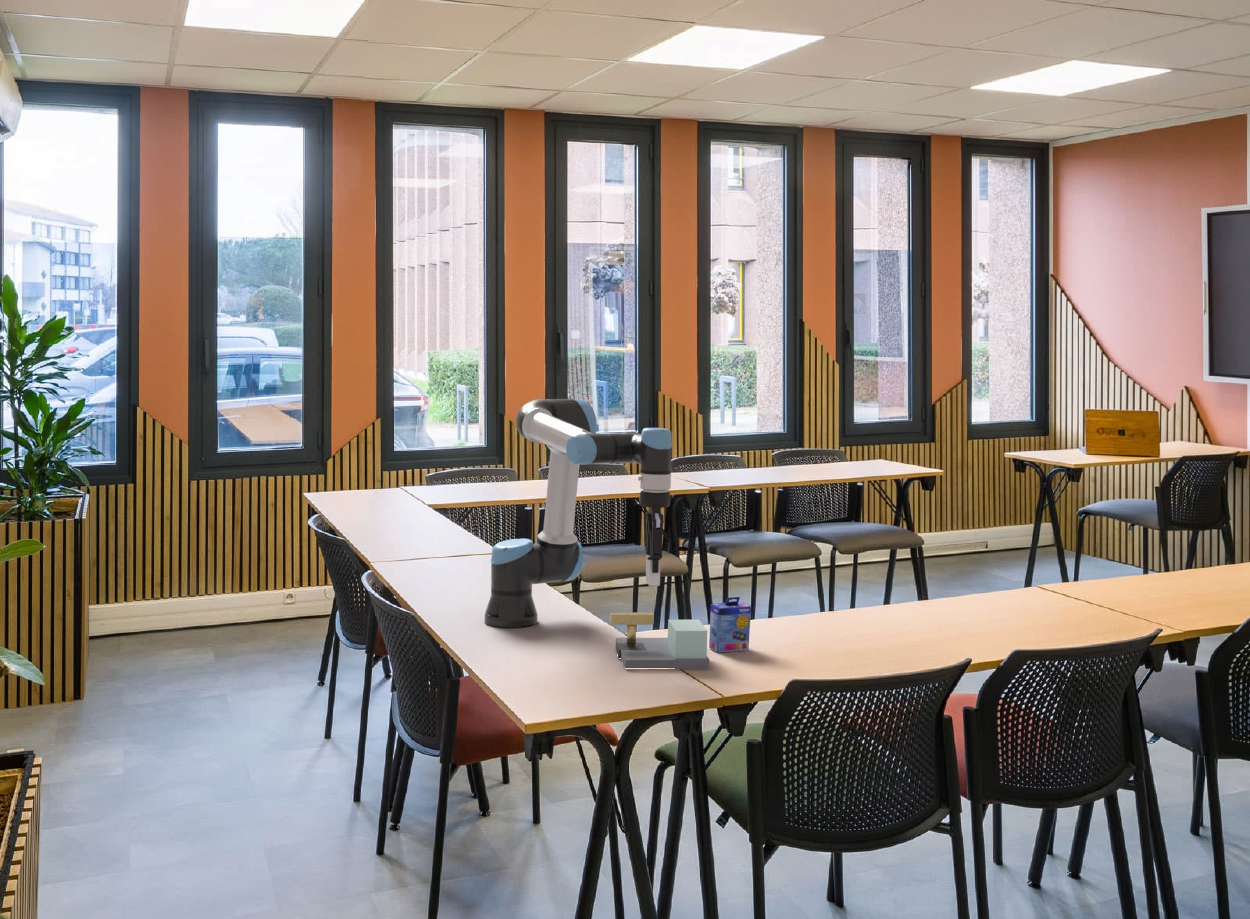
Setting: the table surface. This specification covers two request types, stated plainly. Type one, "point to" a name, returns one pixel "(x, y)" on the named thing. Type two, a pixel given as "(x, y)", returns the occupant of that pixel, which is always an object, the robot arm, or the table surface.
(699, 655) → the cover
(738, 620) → the ink cartridge box
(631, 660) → the panel
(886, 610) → the table surface
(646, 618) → the wooden t-shaped block
